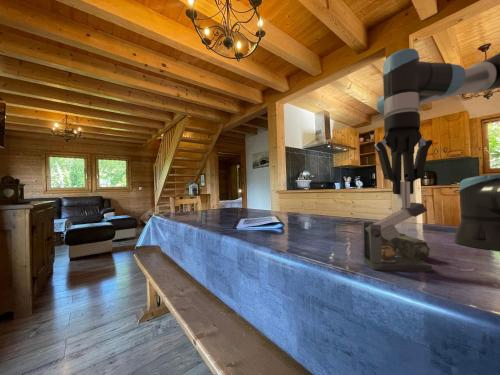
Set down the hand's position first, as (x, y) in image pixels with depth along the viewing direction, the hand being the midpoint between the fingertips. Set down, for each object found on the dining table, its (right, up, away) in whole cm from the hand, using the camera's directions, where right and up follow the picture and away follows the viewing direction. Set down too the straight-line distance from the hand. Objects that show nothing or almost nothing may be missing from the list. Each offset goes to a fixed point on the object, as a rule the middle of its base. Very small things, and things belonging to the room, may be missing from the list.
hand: (403, 207), depth 56 cm
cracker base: (-2, -15, 0) cm, 15 cm away
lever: (-1, -6, 0) cm, 6 cm away
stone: (+6, -15, +10) cm, 20 cm away
